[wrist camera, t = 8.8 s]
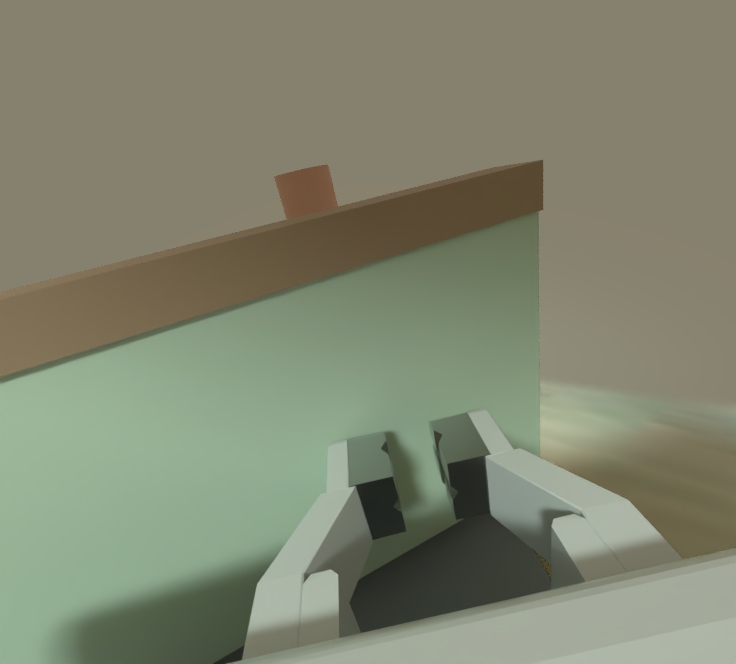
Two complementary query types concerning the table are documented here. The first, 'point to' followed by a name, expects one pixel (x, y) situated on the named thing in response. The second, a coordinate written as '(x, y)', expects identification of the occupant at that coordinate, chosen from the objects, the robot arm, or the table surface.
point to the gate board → (441, 552)
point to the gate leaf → (247, 407)
